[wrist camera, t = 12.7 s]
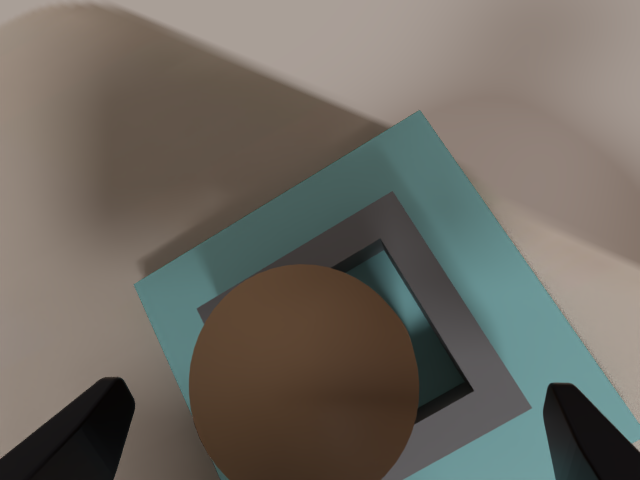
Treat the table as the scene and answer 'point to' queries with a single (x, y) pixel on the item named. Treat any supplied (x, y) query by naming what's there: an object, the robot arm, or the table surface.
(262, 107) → the table surface
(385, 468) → the peg
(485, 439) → the docking socket
